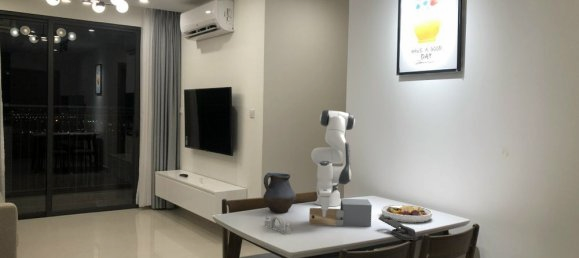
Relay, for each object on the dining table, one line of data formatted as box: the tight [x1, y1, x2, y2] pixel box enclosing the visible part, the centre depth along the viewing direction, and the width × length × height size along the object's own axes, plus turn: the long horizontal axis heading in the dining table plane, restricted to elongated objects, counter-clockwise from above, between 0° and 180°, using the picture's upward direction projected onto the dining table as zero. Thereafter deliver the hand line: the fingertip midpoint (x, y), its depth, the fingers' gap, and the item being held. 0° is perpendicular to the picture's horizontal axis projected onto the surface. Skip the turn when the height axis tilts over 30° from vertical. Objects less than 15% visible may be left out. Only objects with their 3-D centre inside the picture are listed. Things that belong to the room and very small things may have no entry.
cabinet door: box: [308, 207, 341, 226], centre depth 258 cm, size 4×18×9 cm, turn 88°
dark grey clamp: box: [377, 216, 419, 242], centre depth 244 cm, size 9×7×25 cm
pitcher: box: [262, 172, 297, 214], centre depth 287 cm, size 21×22×25 cm
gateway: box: [264, 215, 291, 235], centre depth 245 cm, size 20×2×8 cm, turn 39°
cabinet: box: [335, 198, 373, 227], centre depth 265 cm, size 18×20×12 cm
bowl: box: [381, 204, 433, 224], centre depth 281 cm, size 30×30×8 cm
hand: (323, 214), depth 259 cm, fingers open, 7 cm apart
